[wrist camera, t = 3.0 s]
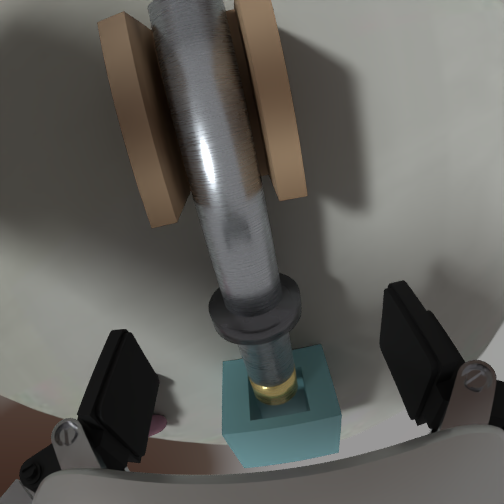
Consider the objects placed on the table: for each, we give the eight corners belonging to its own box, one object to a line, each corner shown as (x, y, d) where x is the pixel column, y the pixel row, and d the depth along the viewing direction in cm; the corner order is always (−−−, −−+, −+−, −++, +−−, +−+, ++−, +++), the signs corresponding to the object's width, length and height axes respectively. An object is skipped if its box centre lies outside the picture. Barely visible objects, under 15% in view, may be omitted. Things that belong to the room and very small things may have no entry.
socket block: (222, 361, 27) (222, 434, 20) (321, 343, 26) (341, 414, 20) (241, 406, 31) (244, 468, 24) (323, 392, 30) (338, 452, 24)
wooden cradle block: (142, 43, 14) (97, 22, 8) (254, 16, 14) (264, -23, 8) (177, 183, 19) (151, 228, 13) (283, 161, 19) (307, 195, 13)
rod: (144, 28, 13) (108, 4, 8) (241, 3, 12) (244, -33, 8) (240, 367, 25) (242, 420, 20) (304, 356, 25) (316, 408, 20)
